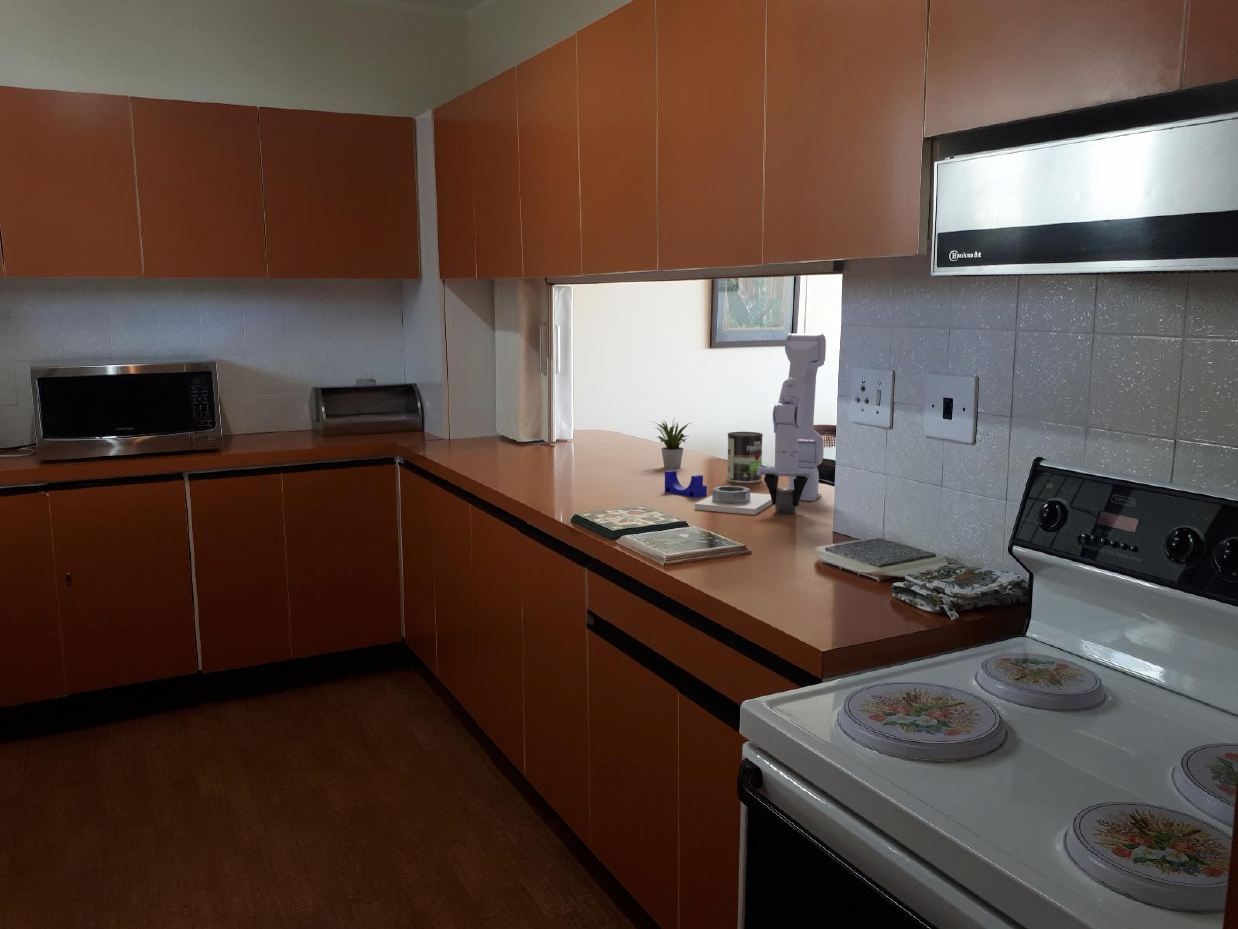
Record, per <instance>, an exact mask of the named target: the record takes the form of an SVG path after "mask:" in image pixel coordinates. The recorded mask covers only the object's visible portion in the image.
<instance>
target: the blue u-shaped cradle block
mask: <svg viewBox="0 0 1238 929" xmlns="http://www.w3.org/2000/svg"><path fill="white" fill-rule="evenodd" d="M707 491H708V485H706V484H704V475H703V474H696V475H691V477H690V482H689V485H688V486H687V487H684V486H683V485H682V484H681V483H680V481H679V479H678V474H677V470H675V469H674V470H673V469H672V470H665V471H664V492H665V493H670V494H674V495H677V496H678V495H680V496H683V497H687V498H688V497H689V498H693V499H694V498H695V499H698V498H701V497H702V498H703V497H708V492H707Z"/></svg>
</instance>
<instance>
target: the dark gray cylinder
mask: <svg viewBox="0 0 1238 929" xmlns="http://www.w3.org/2000/svg"><path fill="white" fill-rule="evenodd" d="M774 509H775V511H774V512H775V513H776V514H778V515H794V514H796V506H794V488H790V487H789V486H781V487H777V488H776V498H775V505H774Z"/></svg>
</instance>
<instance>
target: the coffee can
mask: <svg viewBox="0 0 1238 929" xmlns="http://www.w3.org/2000/svg"><path fill="white" fill-rule="evenodd" d="M763 436H764V434H763V433H761V432H757V431H732V432H727V479H726V481H727V482H730V483H736V484H737V483H738V484H757V483H761V482H762V480H763V479H762V475H757V467H759V466H762V467H763V465H762V464H763V463H762V462H763V461H762V460H763ZM760 481H761V482H760Z"/></svg>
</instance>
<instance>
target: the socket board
mask: <svg viewBox="0 0 1238 929" xmlns="http://www.w3.org/2000/svg"><path fill="white" fill-rule="evenodd" d="M771 505H772V500H771V496H770V493H769V494H768V493H758V492H757V493H755V492H751V488H748V487H746V486H741V485H722V486H720V485H719V486H716V487H714V488H712V493H711V495H710V496H706V497H705V498H703V499H702V500H699V501H698V502H696V503H694V510H696V511H709V512H718V513H719V512H720V513H727V514H728V513H730V514H742V515H753V516H756V515H758V514H759V513H761V512H762V511H763V510H765V509H767V508H769V507H771Z"/></svg>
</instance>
